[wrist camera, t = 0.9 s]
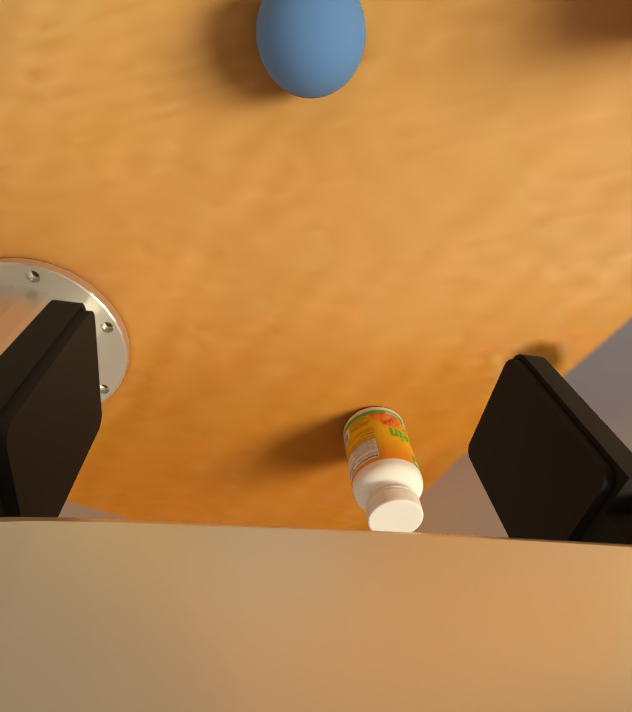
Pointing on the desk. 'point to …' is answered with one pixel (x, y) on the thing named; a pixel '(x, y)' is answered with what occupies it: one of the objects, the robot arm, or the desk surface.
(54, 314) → the robot arm
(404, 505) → the supplement bottle
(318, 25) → the ball
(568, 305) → the desk surface
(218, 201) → the desk surface
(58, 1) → the desk surface
